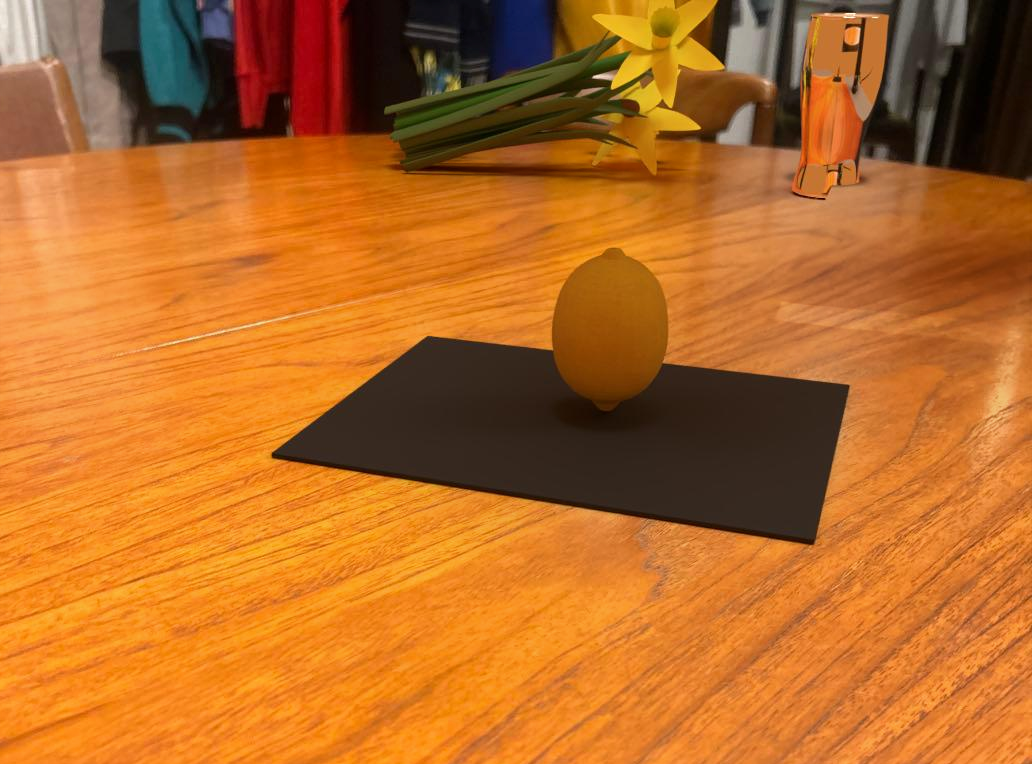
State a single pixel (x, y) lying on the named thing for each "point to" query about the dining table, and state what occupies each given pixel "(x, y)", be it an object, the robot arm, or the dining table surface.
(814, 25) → the beer glass
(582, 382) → the lemon
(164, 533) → the dining table surface
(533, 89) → the daffodil flowers
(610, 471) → the felt mat
